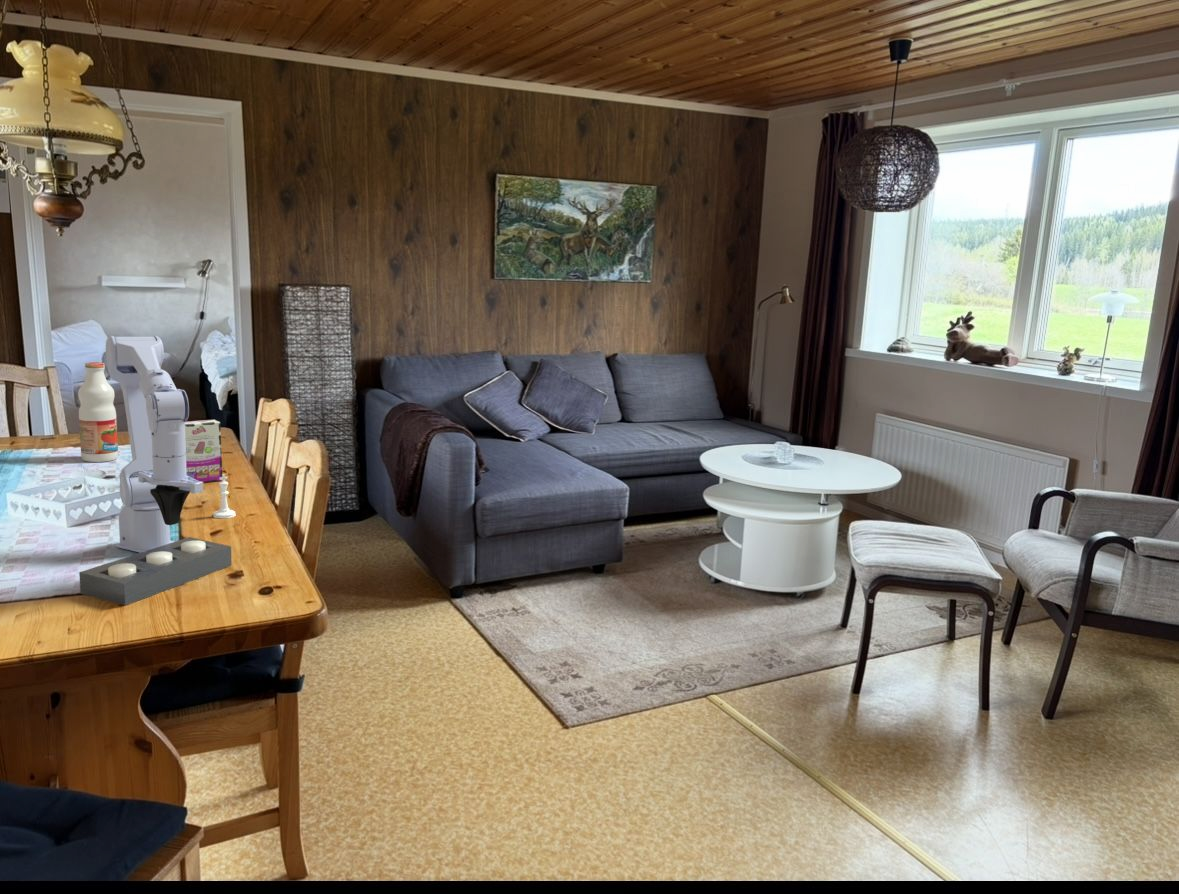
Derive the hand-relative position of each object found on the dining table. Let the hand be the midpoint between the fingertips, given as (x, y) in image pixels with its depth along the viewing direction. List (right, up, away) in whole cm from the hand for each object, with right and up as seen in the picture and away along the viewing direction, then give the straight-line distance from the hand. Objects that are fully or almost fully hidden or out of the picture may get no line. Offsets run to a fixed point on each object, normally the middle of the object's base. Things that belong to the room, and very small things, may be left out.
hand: (171, 523), depth 165 cm
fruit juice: (-62, +11, +86) cm, 107 cm away
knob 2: (+2, -9, +5) cm, 10 cm away
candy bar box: (-26, +5, +68) cm, 73 cm away
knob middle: (-1, -10, -2) cm, 10 cm away
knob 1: (-4, -11, -9) cm, 15 cm away
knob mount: (-1, -10, -2) cm, 11 cm away
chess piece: (-7, -2, +39) cm, 40 cm away
